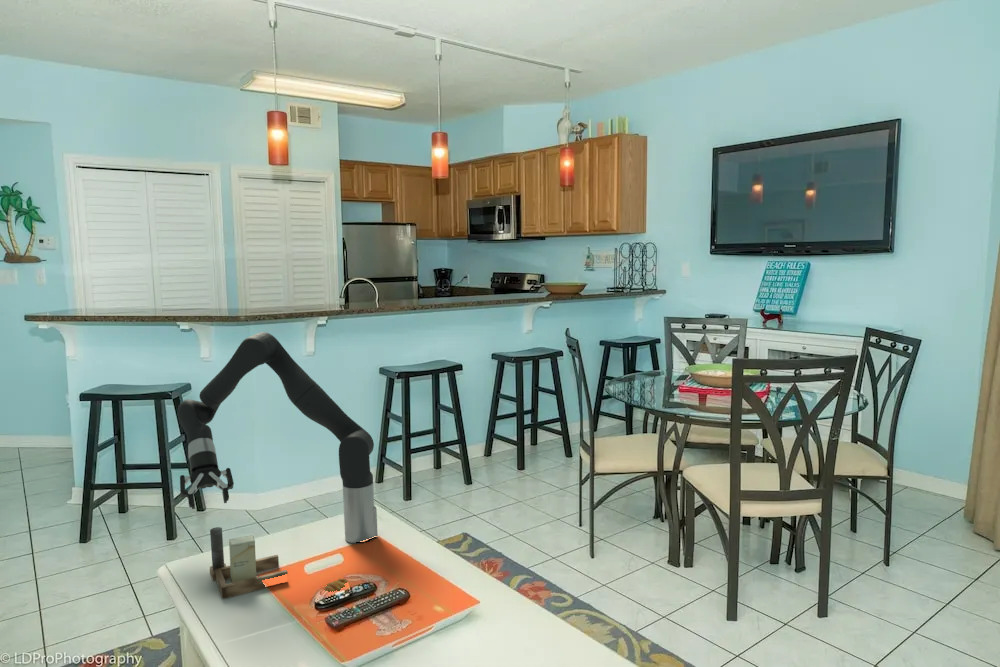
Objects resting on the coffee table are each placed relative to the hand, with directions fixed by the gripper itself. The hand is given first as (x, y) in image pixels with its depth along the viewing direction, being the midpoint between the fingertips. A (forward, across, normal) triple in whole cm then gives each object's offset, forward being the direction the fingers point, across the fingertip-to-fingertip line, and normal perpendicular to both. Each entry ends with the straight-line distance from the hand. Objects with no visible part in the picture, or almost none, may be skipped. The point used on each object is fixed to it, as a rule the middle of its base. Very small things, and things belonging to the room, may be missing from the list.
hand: (209, 504), depth 187 cm
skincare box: (+27, +5, -4) cm, 28 cm away
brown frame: (+24, +7, -2) cm, 25 cm away
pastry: (+42, +23, -18) cm, 51 cm away
